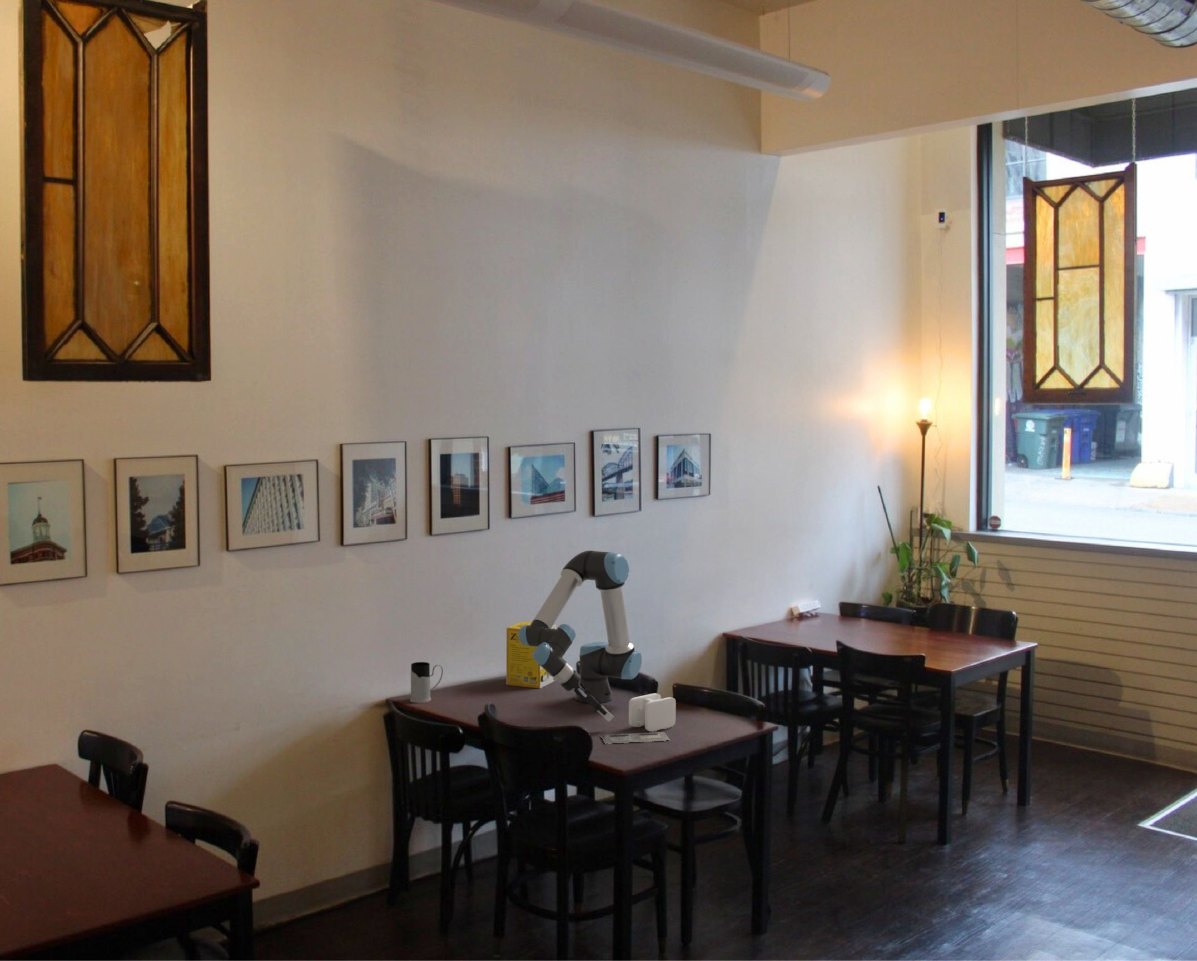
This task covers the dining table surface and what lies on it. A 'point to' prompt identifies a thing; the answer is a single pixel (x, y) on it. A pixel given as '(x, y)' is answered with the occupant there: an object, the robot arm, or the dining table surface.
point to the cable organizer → (652, 712)
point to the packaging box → (523, 661)
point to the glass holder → (421, 682)
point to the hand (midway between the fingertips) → (611, 719)
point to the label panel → (634, 737)
